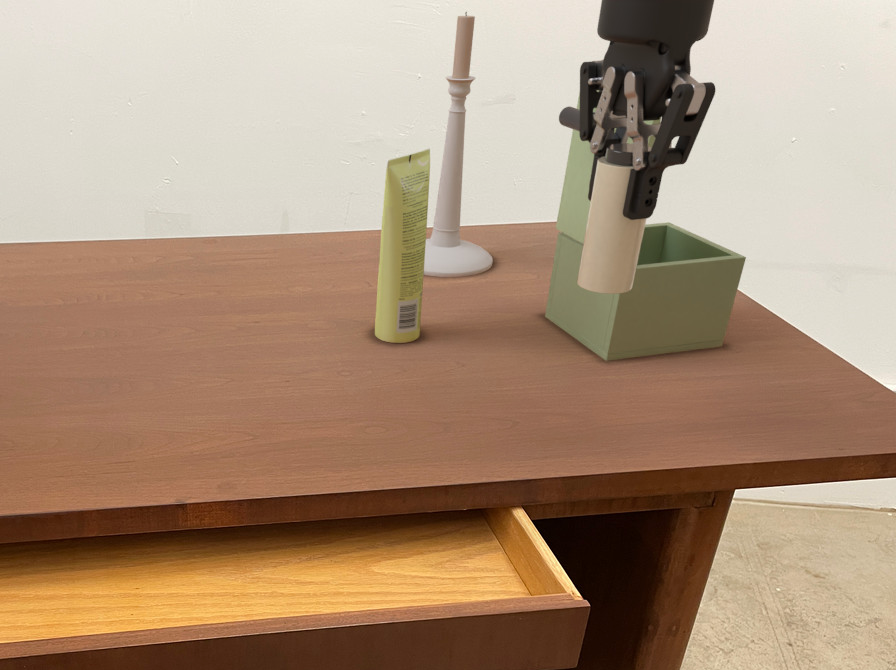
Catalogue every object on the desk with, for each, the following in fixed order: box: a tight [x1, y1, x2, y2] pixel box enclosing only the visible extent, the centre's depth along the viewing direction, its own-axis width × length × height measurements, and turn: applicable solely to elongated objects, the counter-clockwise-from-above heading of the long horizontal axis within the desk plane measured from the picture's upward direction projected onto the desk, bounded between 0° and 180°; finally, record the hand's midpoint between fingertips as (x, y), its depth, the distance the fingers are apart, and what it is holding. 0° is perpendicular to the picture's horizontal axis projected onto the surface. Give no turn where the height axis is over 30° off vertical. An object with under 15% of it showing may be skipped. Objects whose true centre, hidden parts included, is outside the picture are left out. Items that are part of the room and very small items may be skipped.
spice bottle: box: [577, 143, 652, 294], centre depth 74 cm, size 4×4×11 cm
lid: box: [555, 90, 662, 244], centre depth 91 cm, size 15×13×5 cm
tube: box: [374, 147, 431, 344], centre depth 97 cm, size 6×5×20 cm
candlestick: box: [424, 11, 494, 278], centre depth 116 cm, size 13×13×30 cm
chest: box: [544, 222, 747, 362], centre depth 100 cm, size 14×13×10 cm
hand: (618, 208), depth 74 cm, fingers closed on spice bottle, 4 cm apart
